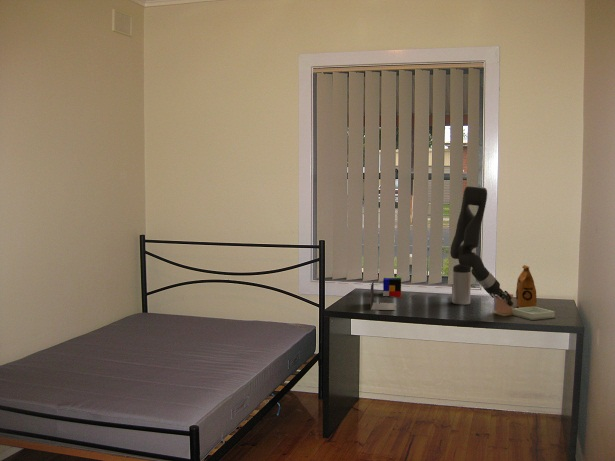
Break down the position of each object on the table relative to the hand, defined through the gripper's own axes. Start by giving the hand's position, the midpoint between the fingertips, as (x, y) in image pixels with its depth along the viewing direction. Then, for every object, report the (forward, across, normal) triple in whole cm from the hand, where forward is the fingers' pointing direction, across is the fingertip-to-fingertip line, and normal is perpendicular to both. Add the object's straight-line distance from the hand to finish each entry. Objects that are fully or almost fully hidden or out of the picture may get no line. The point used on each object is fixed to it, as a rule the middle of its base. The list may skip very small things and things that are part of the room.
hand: (507, 303), depth 317 cm
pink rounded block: (+2, 0, +4) cm, 4 cm away
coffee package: (+16, +6, -9) cm, 19 cm away
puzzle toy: (-15, +67, +22) cm, 72 cm away
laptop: (-30, +39, +38) cm, 62 cm away
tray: (+9, -10, -2) cm, 13 cm away
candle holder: (+2, 0, +5) cm, 5 cm away
